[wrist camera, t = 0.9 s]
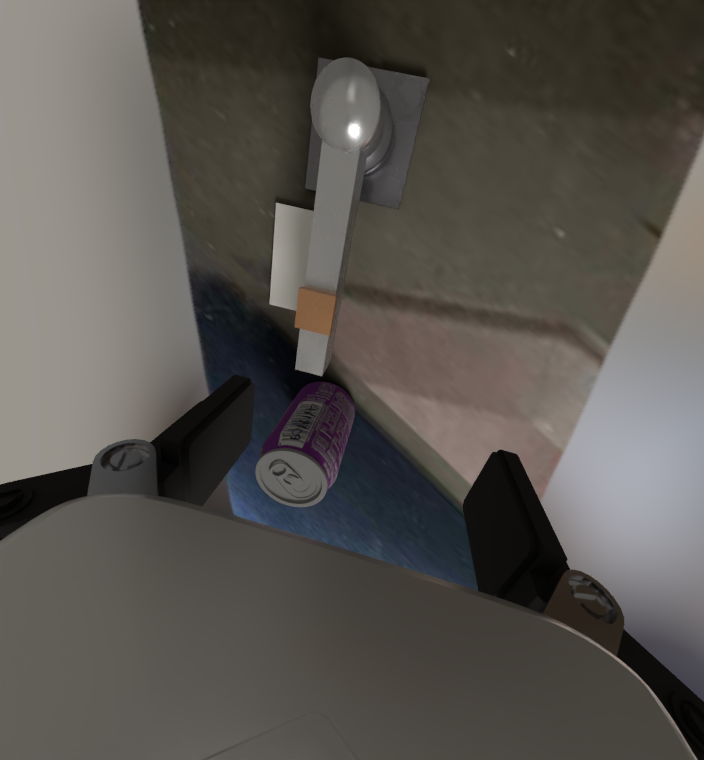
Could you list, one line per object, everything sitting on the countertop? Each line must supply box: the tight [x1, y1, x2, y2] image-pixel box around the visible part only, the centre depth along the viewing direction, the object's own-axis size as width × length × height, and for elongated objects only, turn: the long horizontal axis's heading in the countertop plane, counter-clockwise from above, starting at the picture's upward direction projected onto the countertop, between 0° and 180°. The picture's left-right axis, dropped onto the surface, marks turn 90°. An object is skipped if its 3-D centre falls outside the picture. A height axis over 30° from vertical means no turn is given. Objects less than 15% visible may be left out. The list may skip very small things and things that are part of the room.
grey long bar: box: [295, 58, 385, 376], centre depth 22 cm, size 20×4×4 cm, turn 168°
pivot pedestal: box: [305, 58, 429, 209], centre depth 22 cm, size 8×8×4 cm
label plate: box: [270, 203, 314, 311], centre depth 28 cm, size 9×7×1 cm
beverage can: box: [256, 382, 355, 507], centre depth 30 cm, size 7×7×12 cm
